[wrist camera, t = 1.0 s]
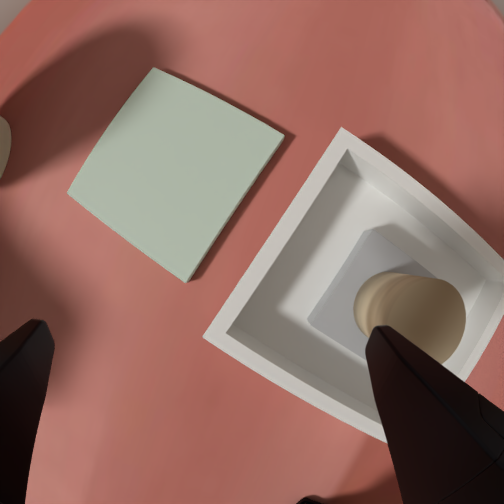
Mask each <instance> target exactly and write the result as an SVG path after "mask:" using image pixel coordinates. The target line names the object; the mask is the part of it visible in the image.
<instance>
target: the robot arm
mask: <svg viewBox="0 0 504 504" xmlns="http://www.w3.org/2000/svg"><path fill="white" fill-rule="evenodd" d="M54 349H55V344H54V340H53V338H52V335H51V333H50V330H49V328H48V325H47V323H46V322H45V321H44V320H40V319H31V320H30V321H28V322H27V323H25V324H24V325H23V326H21V327H20V328H19V329H17V330H16V331H15V332H13V333H12V334H10V335H9V336H8V337H6V338H5V339H4V340H2V341H1V342H0V504H25V498H26V490H27V483H28V477H29V470H30V464H31V459H32V453H33V448H34V443H35V438H36V434H37V429H38V425H39V421H40V416H41V412H42V408H43V404H44V401H45V396H46V392H47V386H48V380H49V375H50V369H51V364H52V359H53V354H54ZM365 356H366V360H367V365H368V370H369V375H370V380H371V385H372V390H373V395H374V399H375V403H376V407H377V410H378V413H379V416H380V420H381V423H382V426H383V430H384V433H385V437H386V440H387V443H388V447H389V451H390V454H391V458H392V461H393V465H394V469H395V473H396V476H397V480H398V484H399V488H400V492H401V496H402V500H403V504H504V411H502V410H501V409H500V408H498V407H497V406H495V405H494V404H493V403H491V402H490V401H489V400H487V399H486V398H485V397H484V396H482V395H481V394H478V392H477V391H476V390H474V389H473V388H472V387H470V386H469V385H468V384H467V383H465V382H464V381H463V380H461V379H460V378H459V377H457V376H456V375H455V374H453V373H452V372H451V371H449V370H448V369H447V368H445V367H444V366H443V365H442V364H440V363H439V362H438V361H436V360H435V359H434V358H432V357H431V356H430V355H428V354H427V353H426V352H424V351H423V350H422V349H420V348H419V347H418V346H416V345H415V344H414V343H412V342H411V341H409V340H408V339H407V338H405V337H404V336H403V335H401V334H400V333H399V332H397V331H396V330H395V329H393V328H392V327H391V326H389V325H378V326H375V327H374V328H373V329H372V332H371V334H370V337H369V339H368V342H367V344H366V347H365ZM304 503H305V504H322V503H319V502H316V501H313V500H311V499H308V498H304V499H301V500H300V501H299V502H298V503H296V504H304Z"/></svg>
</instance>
